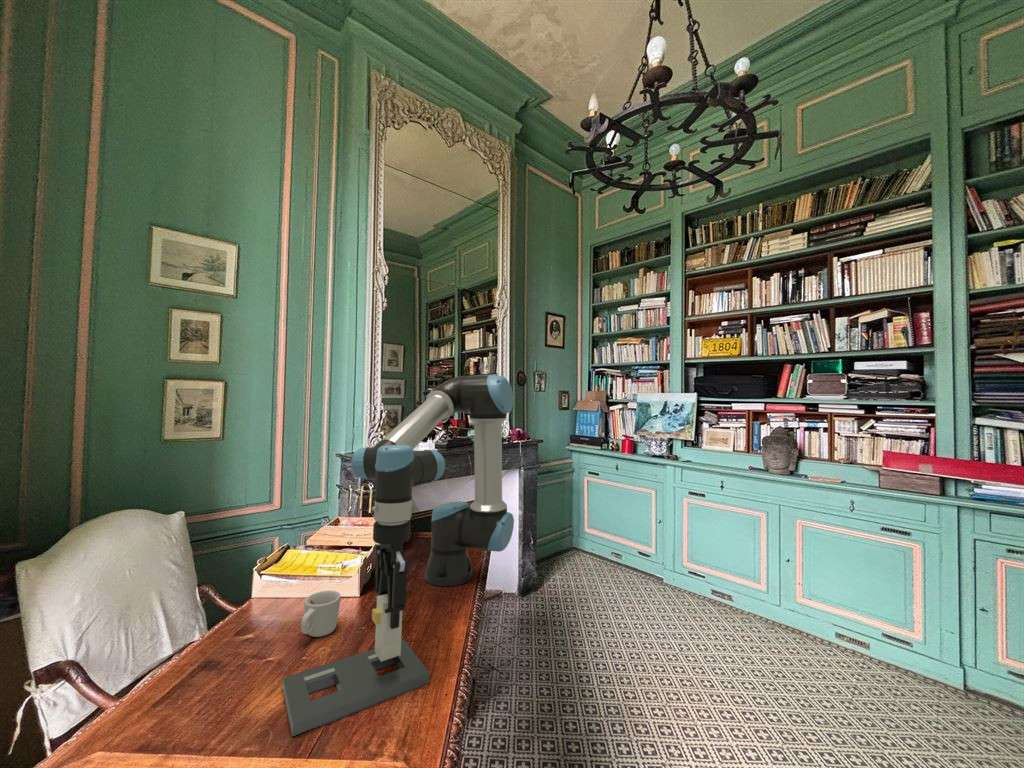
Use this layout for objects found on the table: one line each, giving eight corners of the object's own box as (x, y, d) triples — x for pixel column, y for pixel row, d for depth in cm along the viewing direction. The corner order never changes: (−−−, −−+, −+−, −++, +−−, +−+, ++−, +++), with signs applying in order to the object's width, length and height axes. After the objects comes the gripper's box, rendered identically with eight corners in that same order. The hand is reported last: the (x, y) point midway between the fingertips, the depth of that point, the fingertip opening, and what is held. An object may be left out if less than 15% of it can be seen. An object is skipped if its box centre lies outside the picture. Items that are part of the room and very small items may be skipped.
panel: (403, 648, 92) (404, 638, 92) (429, 683, 81) (429, 672, 81) (282, 688, 78) (283, 677, 78) (292, 737, 67) (292, 724, 67)
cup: (317, 650, 91) (318, 613, 92) (286, 645, 93) (288, 608, 93) (346, 625, 102) (347, 592, 102) (317, 621, 103) (319, 588, 104)
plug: (393, 645, 86) (395, 591, 87) (400, 655, 83) (402, 598, 83) (369, 653, 83) (371, 597, 84) (375, 663, 80) (377, 605, 80)
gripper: (362, 513, 90) (358, 624, 88) (388, 534, 76) (383, 665, 74) (396, 509, 94) (392, 614, 92) (426, 527, 80) (422, 652, 78)
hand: (388, 637), depth 83 cm, fingers closed on plug, 4 cm apart
